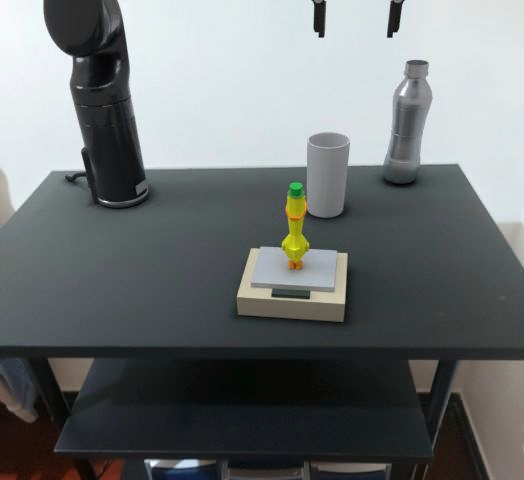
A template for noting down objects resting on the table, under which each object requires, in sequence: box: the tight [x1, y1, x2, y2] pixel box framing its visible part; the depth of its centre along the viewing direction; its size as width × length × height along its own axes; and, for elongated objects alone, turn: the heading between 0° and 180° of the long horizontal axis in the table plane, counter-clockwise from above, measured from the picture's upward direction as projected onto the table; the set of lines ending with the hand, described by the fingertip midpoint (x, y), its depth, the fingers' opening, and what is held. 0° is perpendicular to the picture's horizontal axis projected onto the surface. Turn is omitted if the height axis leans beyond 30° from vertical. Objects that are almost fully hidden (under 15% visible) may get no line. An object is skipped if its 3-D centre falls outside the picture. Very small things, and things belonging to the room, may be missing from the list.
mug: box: [306, 131, 351, 219], centre depth 90 cm, size 10×7×12 cm, turn 167°
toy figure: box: [281, 181, 310, 270], centre depth 70 cm, size 7×4×12 cm, turn 174°
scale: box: [236, 246, 348, 323], centre depth 75 cm, size 14×12×4 cm
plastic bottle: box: [382, 59, 434, 185], centre depth 94 cm, size 6×7×20 cm
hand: (355, 36), depth 69 cm, fingers open, 8 cm apart
